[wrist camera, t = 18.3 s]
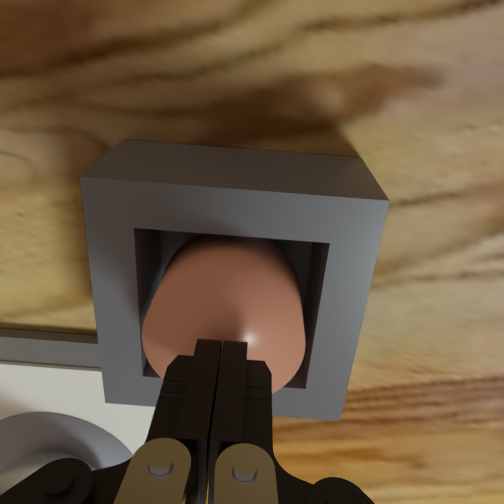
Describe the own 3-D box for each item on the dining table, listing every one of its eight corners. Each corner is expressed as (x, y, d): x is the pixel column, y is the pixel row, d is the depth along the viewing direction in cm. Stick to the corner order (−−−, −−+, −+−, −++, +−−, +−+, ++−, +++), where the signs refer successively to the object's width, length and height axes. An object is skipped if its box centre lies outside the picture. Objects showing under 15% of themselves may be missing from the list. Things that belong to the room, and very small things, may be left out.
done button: (160, 224, 15) (137, 267, 13) (307, 235, 15) (315, 281, 13) (164, 340, 18) (145, 398, 15) (291, 350, 18) (295, 409, 15)
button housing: (123, 139, 17) (79, 176, 13) (361, 157, 17) (389, 200, 13) (136, 330, 21) (105, 402, 17) (326, 344, 21) (339, 421, 17)
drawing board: (-125, 318, 21) (-141, 330, 21) (210, 344, 21) (207, 357, 21) (-38, 539, 30) (-46, 554, 29) (203, 558, 30) (201, 573, 29)
